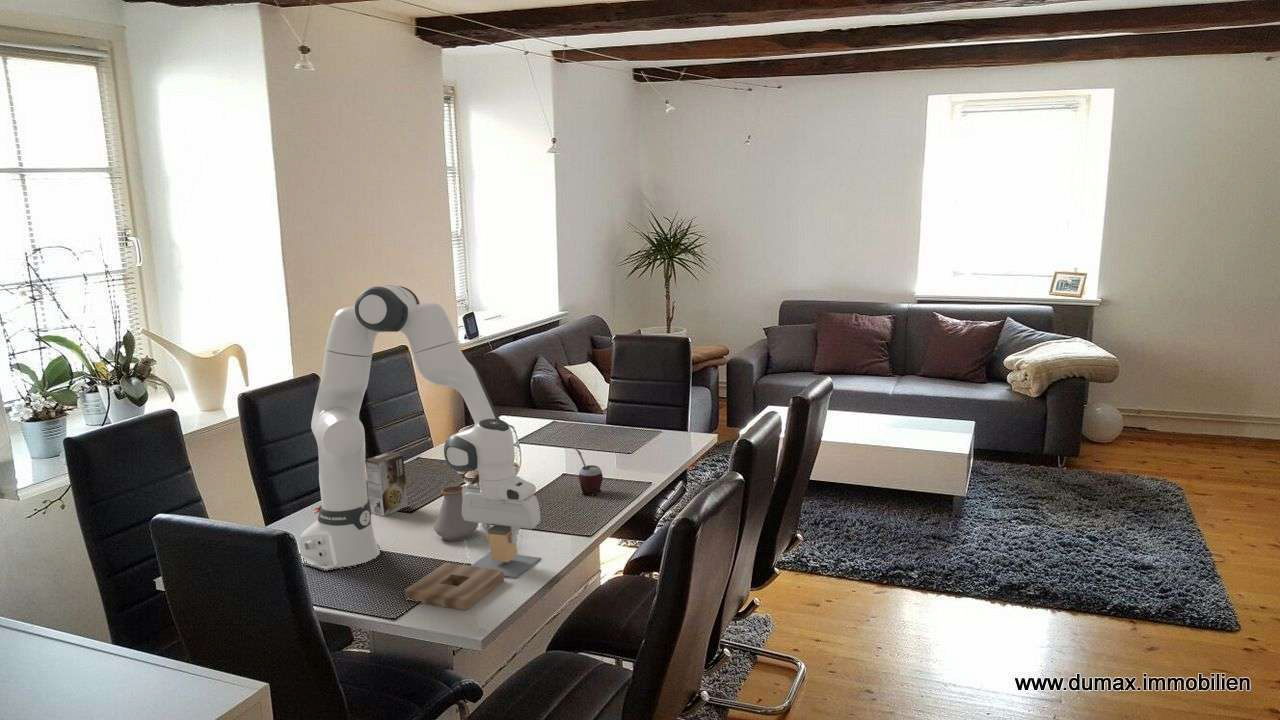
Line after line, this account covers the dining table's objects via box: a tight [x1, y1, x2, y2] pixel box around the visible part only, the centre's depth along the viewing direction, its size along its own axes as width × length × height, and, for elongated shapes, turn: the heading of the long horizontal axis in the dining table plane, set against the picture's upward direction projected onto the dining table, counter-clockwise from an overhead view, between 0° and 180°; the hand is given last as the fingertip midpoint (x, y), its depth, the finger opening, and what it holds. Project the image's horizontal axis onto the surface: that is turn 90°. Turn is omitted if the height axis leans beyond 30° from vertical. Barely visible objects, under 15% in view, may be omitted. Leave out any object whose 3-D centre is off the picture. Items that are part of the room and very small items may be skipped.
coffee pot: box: [434, 473, 479, 542], centre depth 249 cm, size 21×12×15 cm, turn 153°
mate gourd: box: [570, 444, 604, 497], centre depth 274 cm, size 8×8×15 cm
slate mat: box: [470, 551, 542, 580], centre depth 226 cm, size 14×12×1 cm
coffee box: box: [365, 451, 409, 517], centre depth 267 cm, size 9×6×16 cm
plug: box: [488, 524, 518, 562], centre depth 225 cm, size 4×4×8 cm
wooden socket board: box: [404, 562, 505, 612], centre depth 212 cm, size 16×16×2 cm
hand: (502, 540), depth 225 cm, fingers closed on plug, 4 cm apart
